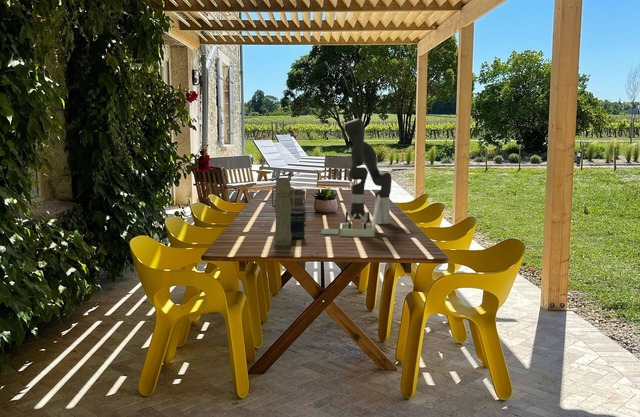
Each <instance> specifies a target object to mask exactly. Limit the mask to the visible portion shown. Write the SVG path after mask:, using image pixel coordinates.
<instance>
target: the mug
mask: <svg viewBox="0 0 640 417" xmlns="http://www.w3.org/2000/svg"><path fill="white" fill-rule="evenodd" d="M294 190H295V198H294V207H292V211H304V212H306V190H303V189H294ZM290 196H291V201H292V205H293V190H292V189H291V193H290Z"/></svg>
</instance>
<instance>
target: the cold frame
mask: <svg viewBox="0 0 640 417" xmlns="http://www.w3.org/2000/svg"><path fill="white" fill-rule="evenodd" d="M380 200H381V198H380V196H379V195H377V200H376V205H375V204H374V211H373V216H372V220H371V223H367V224H366V229H364V223H362V229H353V223H351V229H349V228H348V226H349V223H348V222H343V223H341V222H340V226H339V237H367V238H369V237H370V238H373V237H374V238H376V225H377V224H376V219H377V214H378V209H379V205H380Z"/></svg>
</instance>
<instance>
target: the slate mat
mask: <svg viewBox="0 0 640 417" xmlns="http://www.w3.org/2000/svg"><path fill="white" fill-rule="evenodd" d="M339 233H340V228H321V230H320V236H339Z"/></svg>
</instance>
